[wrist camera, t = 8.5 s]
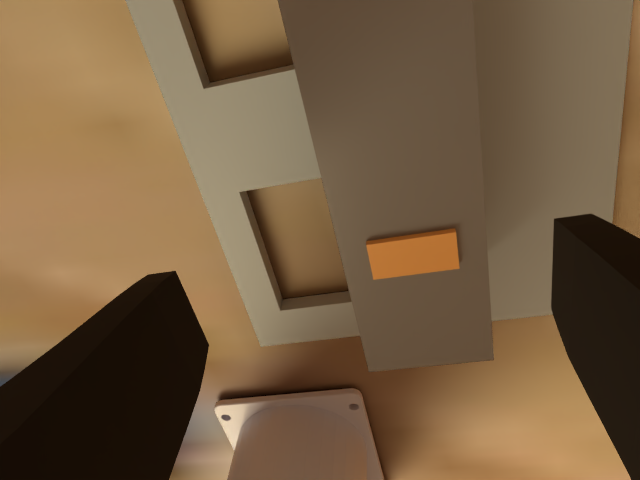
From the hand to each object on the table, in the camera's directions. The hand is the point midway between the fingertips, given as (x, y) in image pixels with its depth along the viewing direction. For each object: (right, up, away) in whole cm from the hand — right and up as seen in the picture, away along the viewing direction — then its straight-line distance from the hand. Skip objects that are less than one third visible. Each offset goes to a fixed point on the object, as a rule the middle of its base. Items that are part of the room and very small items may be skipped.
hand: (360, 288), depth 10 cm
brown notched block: (+2, +6, +8) cm, 10 cm away
